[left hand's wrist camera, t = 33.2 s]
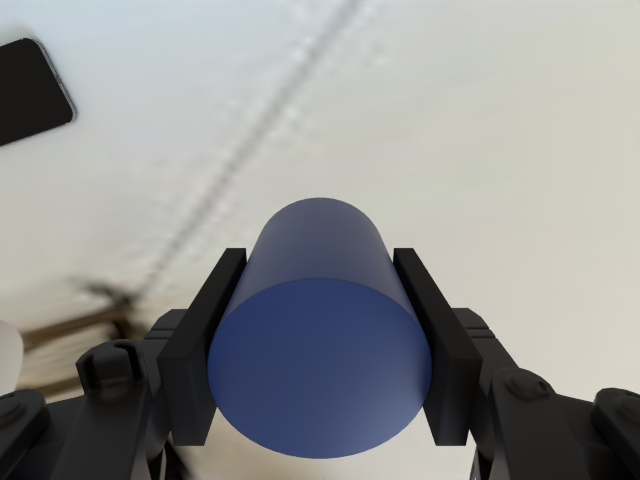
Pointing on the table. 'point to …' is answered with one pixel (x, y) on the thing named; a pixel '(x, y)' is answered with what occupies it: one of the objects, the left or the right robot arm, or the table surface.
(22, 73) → the smartphone
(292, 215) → the can
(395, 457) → the table surface
